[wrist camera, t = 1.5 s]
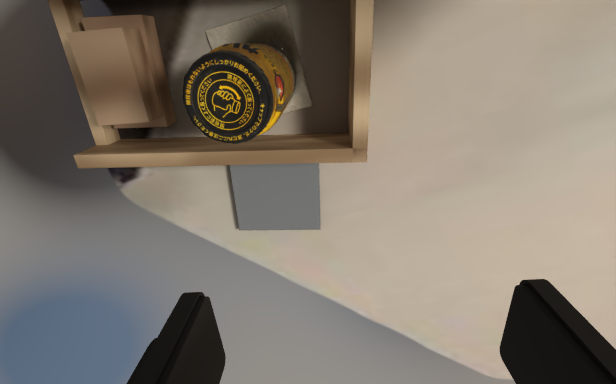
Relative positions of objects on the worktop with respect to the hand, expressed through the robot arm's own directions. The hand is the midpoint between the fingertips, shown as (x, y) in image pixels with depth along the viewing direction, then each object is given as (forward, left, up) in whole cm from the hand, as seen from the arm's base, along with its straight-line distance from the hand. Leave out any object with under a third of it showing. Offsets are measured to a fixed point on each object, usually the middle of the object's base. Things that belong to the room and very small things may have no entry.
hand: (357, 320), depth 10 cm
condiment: (-6, -6, -23) cm, 25 cm away
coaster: (+6, -6, -23) cm, 24 cm away
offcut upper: (-6, -18, -21) cm, 28 cm away
